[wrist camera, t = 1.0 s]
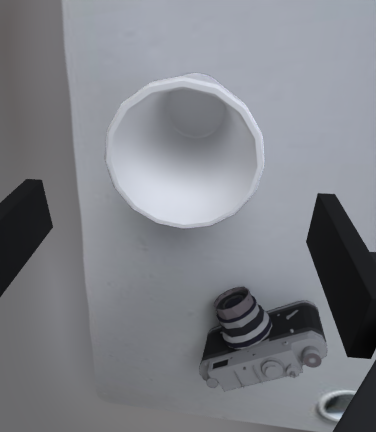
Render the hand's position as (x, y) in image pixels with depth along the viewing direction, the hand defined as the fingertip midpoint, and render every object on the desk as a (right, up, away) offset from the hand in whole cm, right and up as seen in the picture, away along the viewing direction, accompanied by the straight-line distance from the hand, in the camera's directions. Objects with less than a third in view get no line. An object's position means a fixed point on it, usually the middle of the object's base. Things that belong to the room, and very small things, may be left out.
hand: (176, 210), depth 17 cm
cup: (+1, +10, +16) cm, 19 cm away
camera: (+9, -12, +29) cm, 32 cm away
